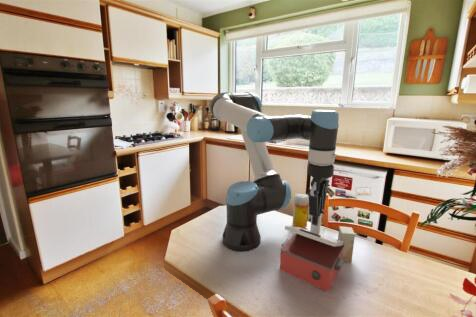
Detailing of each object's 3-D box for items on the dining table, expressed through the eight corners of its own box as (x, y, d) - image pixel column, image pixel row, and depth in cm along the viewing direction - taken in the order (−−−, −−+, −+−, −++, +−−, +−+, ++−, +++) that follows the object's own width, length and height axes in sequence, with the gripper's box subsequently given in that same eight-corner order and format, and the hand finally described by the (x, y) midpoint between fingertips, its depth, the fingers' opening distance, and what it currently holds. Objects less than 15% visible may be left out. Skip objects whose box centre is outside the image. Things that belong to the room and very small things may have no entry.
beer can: (308, 230, 106) (310, 198, 102) (293, 230, 106) (296, 198, 102) (304, 223, 112) (307, 192, 108) (291, 223, 112) (293, 192, 108)
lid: (284, 229, 80) (285, 224, 80) (299, 230, 91) (300, 225, 92) (334, 246, 71) (335, 240, 71) (343, 245, 82) (344, 240, 83)
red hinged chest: (274, 269, 83) (275, 248, 81) (293, 247, 94) (294, 228, 92) (332, 295, 72) (335, 272, 70) (345, 267, 83) (348, 247, 81)
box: (351, 263, 86) (355, 234, 83) (338, 261, 86) (341, 233, 84) (348, 253, 91) (351, 226, 88) (335, 252, 91) (339, 225, 89)
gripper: (327, 169, 67) (320, 246, 73) (339, 159, 77) (332, 227, 83) (300, 165, 71) (296, 237, 77) (316, 156, 81) (310, 220, 87)
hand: (315, 232), depth 80 cm, fingers closed
